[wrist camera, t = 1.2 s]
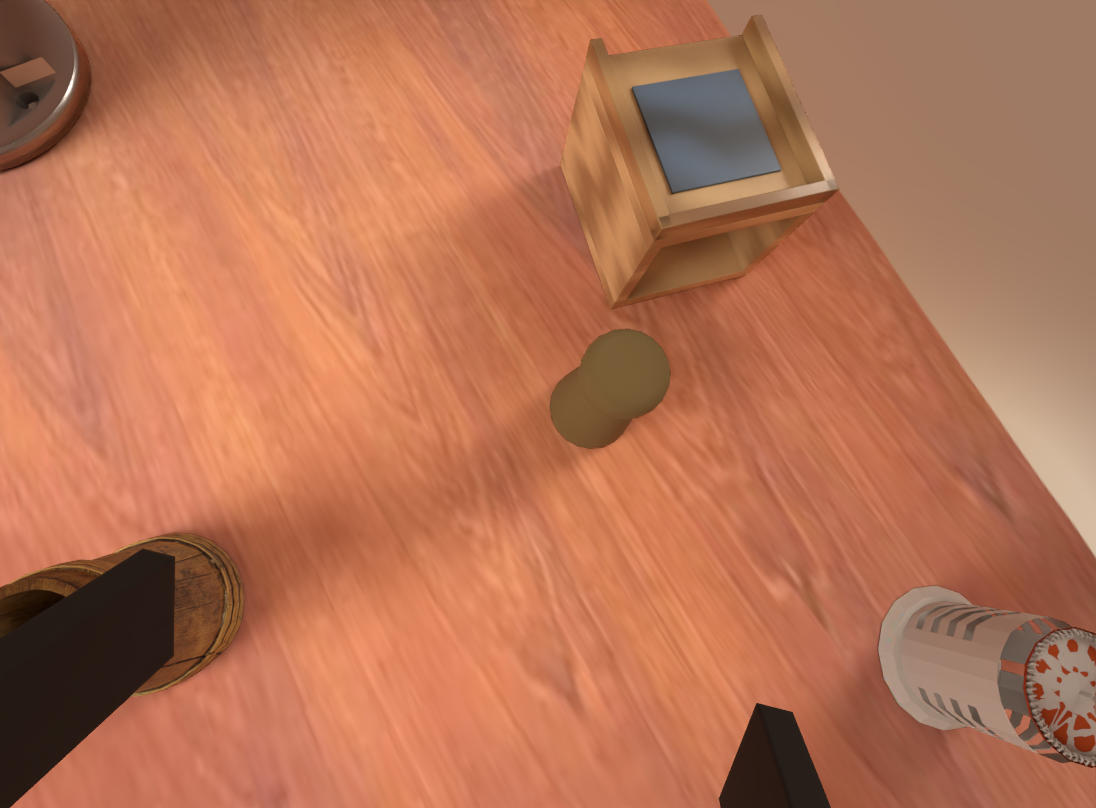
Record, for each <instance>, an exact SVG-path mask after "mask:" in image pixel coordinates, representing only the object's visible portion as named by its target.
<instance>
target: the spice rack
mask: <svg viewBox="0 0 1096 808" xmlns="http://www.w3.org/2000/svg"><path fill="white" fill-rule="evenodd" d="M560 166H561V168H562V171H563V174H564V177H565V180H566V183H567V186H568V189H569V191H570V194H571V197H572V200H573V203H574V206H575V209H576V211H577V214H578V217H579V220H580V223H581V226H582V229H583V232H584V234H585V237H586V240H587V243H588V246H589V249H590V252H591V255H592V257H593V260H594V263H595V266H596V269H597V272H598V275H599V277H600V280H601V283H602V286H603V289H604V292H605V295H606V298H607V300H608V303H609V306H610V309H613V308H617V307H621V306H625V305H629V304H633V303H637V302H641V301H644V300H648V299H652V298H656V297H660V296H664V295H668V294H672V293H676V292H680V291H684V290H688V289H692V288H696V287H700V286H704V285H708V284H712V283H716V282H720V281H724V280H728V279H732V278H736V277H740V276H744V275H746V274H747V273H749V272H750V271H751V270H752V269H753V268H754V267H755V266H756V265H757V264H758V263H759V262H760V261H762V260H763V259H764V258H765V257H766V256H767V255H768V254H769V253H770V252H771V251H772V250H774V249H775V248H776V247H777V246H778V245H779V244H780V243H781V242H782V241H783V240H784V239H786V238H787V237H788V236H789V235H790V234H791V233H792V232H793V231H794V230H795V229H796V228H797V227H799V226H800V225H801V224H802V223H803V222H804V221H805V220H806V219H807V218H808V217H809V216H811V215H812V214H813V212H815V211H816V210H817V209H818V208H819V207H820V206H821V205H822V204H823V203H824V202H826V201H827V200H828V199H829V198H830V197H831V196H832V195H833V194H834V193H836V192H837V191H838V190H839V187H838V184H837V182H836V180H835V178H834V176H833V173H832V171H831V169H830V166H829V164H828V162H827V160H826V157H825V155H824V153H823V151H822V148H821V146H820V144H819V142H818V139H817V137H816V135H815V133H814V131H813V128H812V126H811V124H810V121H809V119H808V117H807V115H806V112H805V110H804V108H803V106H802V103H801V101H800V99H799V97H798V94H797V92H796V90H795V88H794V85H793V83H792V81H791V79H790V77H789V74H788V72H787V70H786V68H785V65H784V63H783V61H782V59H781V56H780V54H779V52H778V50H777V47H776V45H775V43H774V41H773V38H772V36H771V34H770V32H769V29H768V27H767V25H766V23H765V20H764V18H763V16H762V15H755V16H752V17H751V19H750V20H749V22H748V24H747V26H746V28H745V29H744V31H743V33H742V35H738V36H731V37H725V38H718V39H712V40H705V41H699V42H692V43H686V44H679V45H673V46H666V47H660V48H653V49H647V50H641V51H634V52H628V53H621V54H615V55H608V52H607V50H606V47H605V44H604V42H603V39H602V38H598V39H591V40H590V43H589V47H588V52H587V56H586V60H585V65H584V69H583V73H582V76H581V81H580V85H579V89H578V93H577V97H576V101H575V105H574V109H573V113H572V117H571V122H570V126H569V130H568V134H567V138H566V142H565V146H564V150H563V155H562V158H561V162H560Z"/></svg>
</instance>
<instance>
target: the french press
mask: <svg viewBox="0 0 1096 808" xmlns="http://www.w3.org/2000/svg"><path fill="white" fill-rule="evenodd" d="M979 607H980V608H979ZM986 609H988V610H991V611H989V612H987V611H985V610H986ZM993 609H994V610H993ZM996 610H997V611H996ZM1003 612H1006V613H1008V614H1010V615H1003V614H1002V613H1003ZM1011 612H1013V613H1011ZM1015 613H1017V614H1015ZM990 614H996V615H997V616H994V617H993V616H992V615H990ZM1039 618H1044V619H1048V620H1049V621H1050V622H1052V623H1053V624H1054V625H1055V626H1057V627H1058V628H1059V629H1056V630H1053V631H1052V630H1051V628H1050V627H1049V626H1048V625H1046V624H1045V623H1044V622H1042V621H1041V620H1040V619H1039ZM1029 620H1032V621H1034V622H1035V623H1036V624H1038V625H1039V627H1040V629H1041V631H1042V633H1043V634H1039V633H1035V632H1034V630H1033V629H1032V627H1031V625H1030V624H1029V623H1028V622H1027V621H1029ZM1019 626H1022V628H1023V630H1024V631H1023V630H1017V629H1016V628H1018V627H1019ZM878 651H879V656H880V662H881V667H882V672H883V677H884V680H885V682H886V683H887V685H888V687H889V689H890V690H891V692H892V694H893V696H894V697H895V699H896V701H897V703H898V704H899V705H900V706H901V707H902V708H903V709H904V710H906V711H907V712H908V713H909V714H910V715H911V716H913V717H914V718H915V719H916V720H917V721H918V722H920V723H922V724H926V725H929V726H932V727H935V728H938V729H941V730H950V729H956V728H962V727H968V726H969V727H972V728H974V729H976V728H975V727H978V728H979V729H981V730H979V729H976V730H979V731H981V732H984V733H986V734H989V735H992V736H994V735H993V734H997V735H998V736H1000V737H1001V738H999V737H996V736H994V737H996V738H999V739H1001V740H1004V741H1006V742H1009V743H1011V744H1014V745H1016V746H1019V747H1022V748H1024V749H1027V750H1029V751H1032V752H1035V753H1037V752H1036V751H1034V750H1050V749H1051V748H1052V747H1053V748H1054V749H1055V750H1056V751H1058V752H1059V753H1053V754H1040V755H1042V756H1045V757H1048V758H1050V759H1053V760H1055V761H1058V762H1061V763H1066V762H1075V763H1078V764H1081V765H1084V766H1087V767H1090V768H1092V767H1096V634H1095V633H1092V632H1089V631H1086V630H1083V629H1080V628H1077V627H1072V626H1070V625H1069V624H1067V623H1066V622H1064V621H1060V620H1057V619H1054V618H1050V617H1046V616H1040V615H1035V614H1029V613H1019V612H1015V611H1009V610H1000V609H995V608H990V607H983V606H978V605H973V604H971V603H970V602H969V601H968V600H967V599H966V598H964V597H963V596H962V595H961V594H960V593H957V592H954V591H951V590H948V589H945V588H942V587H939V586H929V587H920V588H913V589H912V590H910V591H909V592H907V593H906V594H905V595H903V596H902V597H900V598H899V599H897V600H896V601H895V602H894V603H893V605H892V607H891V608H890V610H889V612H888V613H887V615H886V617H885V619H884V620H883V622H882V627H881V634H880V641H879V648H878ZM1001 659H1004V660H1009V661H1013V662H1017V663H1021V664H1025V670H1024V676H1022V675H1018V674H1015V673H1011V672H1007V671H1003V670H1001ZM1005 708H1006V709H1009V710H1012V715H1011V718H1010V721H1009V719H1008V717H1007V715H1006V713H1005ZM1023 715H1026V716H1029V717H1031V720H1030V724H1029V728H1028V729H1026V730H1025V731H1024V732H1023V733H1022V734H1020V735H1019V736H1018V735H1017V733H1016V731H1015V730H1014V729H1015V728H1016V727H1018V726H1019V725H1020V723H1021V720H1022V717H1023ZM984 727H988V728H989V729H990V730H986V729H985V728H984ZM1038 732H1040V734H1041V736H1042V737H1043V739H1044V740H1043V741H1042V742H1041V743H1040V744H1039V745H1027V744H1026V743H1025V742H1027V741H1030V740H1031V739H1032V738H1033V737H1034V736H1035V735H1036V734H1037V733H1038ZM1037 754H1039V753H1037Z"/></svg>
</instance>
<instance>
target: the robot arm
mask: <svg viewBox="0 0 1096 808" xmlns="http://www.w3.org/2000/svg"><path fill="white" fill-rule="evenodd" d="M90 84H91V73H90V65H89V61H88V58H87V55H86V52H85V50H84V48H83V46H82V44H81V43H80V41H79V40H78V38H77V37H76V35H75V34H74V33H73V32H72V30H71V29H70V28H69V27H68V25H67V24H66V23H65V22H64V20H63V19H62V18H61V17H60V15H59V14H58V13H57V12H56V11H55V10H54V9H53V8H52V7H51V6H50V5H49V4H48V3H47V2H46V1H44V0H0V171H1V170H5V169H8V168H11V167H14V166H17V165H20V164H22V163H24V162H26V161H29V160H31V159H33V158H35V157H36V156H38V155H40V154H42V153H43V152H45V151H46V150H48V149H49V148H51V147H52V146H53V145H55V144H56V143H57V142H58V141H60V140H61V139H62V138H63V137H64V136H65V135H66V134H67V133H68V132H69V130H70V129H71V128H72V127H73V126H74V124H75V123H76V121H77V120H78V118H79V117H80V115H81V113H82V111H83V110H84V107H85V105H86V102H87V99H88V96H89V92H90ZM174 607H175V556H171V555H167V554H163V553H160V552H156V551H152V550H148V549H144V548H143V549H141V550H140V551H138V552H137V553H135V554H133V555H132V556H130V557H129V558H127V559H125V560H124V561H122V562H121V563H119V564H118V565H116V566H114V567H113V568H111V569H110V570H108V571H106V572H105V573H103V574H102V575H100V576H98V577H97V578H95V579H94V580H92V581H91V582H89V583H87V584H86V585H84V586H83V587H81V588H79V589H78V590H76V591H75V592H73V593H72V594H70V595H68V596H67V597H65V598H64V599H62V600H60V601H59V602H57V603H56V604H54V605H52V606H51V607H49V608H48V609H46V610H45V611H43V612H41V613H40V614H38V615H37V616H35V617H33V618H32V619H30V620H29V621H27V622H26V623H24V624H22V625H21V626H19V627H18V628H16V629H14V630H13V631H11V632H10V633H8V634H7V635H5V636H3V637H2V638H0V808H10V807H11V806H12V805H13V804H14V803H15V802H16V801H18V800H19V799H20V798H21V797H22V796H23V795H24V794H25V793H26V792H27V791H28V790H29V789H31V788H32V787H33V786H34V785H35V784H36V783H37V782H38V781H39V780H40V779H41V778H42V777H44V776H45V775H46V774H47V773H48V772H49V771H50V770H51V769H52V768H53V767H54V766H55V765H57V764H58V763H59V762H60V761H61V760H62V759H63V758H64V757H65V756H66V755H67V754H68V753H70V752H71V751H72V750H73V749H74V748H75V747H76V746H77V745H78V744H79V743H80V742H81V741H83V740H84V739H85V738H86V737H87V736H88V735H89V734H90V733H91V732H92V731H93V730H94V729H96V728H97V727H98V726H99V725H100V724H101V723H102V722H103V721H104V720H105V719H106V718H107V717H109V716H110V715H111V714H112V713H113V712H114V711H115V710H116V709H117V708H118V707H119V706H120V705H122V704H123V703H124V702H125V701H126V700H127V699H128V698H129V697H130V696H131V695H132V694H133V693H134V692H136V691H137V690H138V689H139V688H140V687H141V686H142V685H143V684H144V683H145V682H146V681H147V680H149V679H150V678H151V677H152V676H153V675H154V674H155V673H156V672H157V671H158V670H159V669H160V668H162V667H163V666H164V665H165V664H166V663H167V662H168V661H169V660H170V659H171V658H172V657H173V656H174ZM719 801H720V806H721V808H831V807H830V804H829V802H828V799H827V797H826V794H825V792H824V789H823V787H822V784H821V782H820V779H819V777H818V774H817V772H816V769H815V767H814V764H813V762H812V759H811V757H810V754H809V752H808V750H807V747H806V745H805V742H804V740H803V737H802V735H801V732H800V730H799V727H798V725H797V722H796V720H795V717H794V715H793V712H790V711H786V710H782V709H778V708H774V707H770V706H766V705H762V704H758V703H756V706H755V708H754V711H753V714H752V716H751V719H750V721H749V724H748V726H747V729H746V731H745V734H744V736H743V739H742V741H741V744H740V747H739V749H738V752H737V754H736V757H735V759H734V762H733V764H732V767H731V769H730V772H729V774H728V777H727V779H726V782H725V785H724V787H723V790H722V792H721V795H720V797H719Z"/></svg>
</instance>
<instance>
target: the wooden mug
mask: <svg viewBox="0 0 1096 808" xmlns="http://www.w3.org/2000/svg"><path fill="white" fill-rule="evenodd" d="M143 548H144V549H148V550H152V551H156V552H160V553H163V554H167V555H171V556H175V607H174V656H173V657H172V658H171V659H170V660H169V661H168V662H167V663H166V664H165V665H164V666H163V667H162V668H160V669H159V670H158V671H157V672H156V673H155V674H154V675H153V676H152V677H151V678H150V679H149V680H147V681H146V682H145V683H144V684H143V685H142V686H141V687H140V688H139V689H138V690H137V691H136V692H134V693H133V694H132V695H131V696H143V695H147V694H150V693H154V692H158V691H162V690H166V689H168V688H170V687H172V686H174V685H176V684H178V683H180V682H182V681H184V680H186V679H187V678H189V677H191V676H193V675H194V674H196V673H198V672H199V671H201V670H202V669H203V668H204V667H205V666H207V665H208V664H209V663H210V662H211V661H213V660H214V659H215V658H216V657H217V656H218V655H219V654H221V653H222V652H223V651H224V650H225V649H226V648H227V647H228V646H229V645H230V644H231V642H232V640H233V638H234V636H235V634H236V632H237V630H238V628H239V626H240V624H241V621H242V614H243V607H244V592H243V583H242V580H241V577H240V574H239V571H238V568H237V566H236V565H235V563H234V562H233V561H232V559H231V558H230V556H229V555H228V554H227V552H225V551H224V550H223V549H222V548H220V547H219V546H218V545H216V544H215V543H214V542H213V541H211V540H208V539H205V538H203V537H200V536H197V535H194V534H186V533H170V534H166V535H162V536H157V537H153V538H149V539H146V540H142V541H138V542H136V543H133V544H131V545H128V546H126V547H123V548H121V549H119V550H117V551H116V552H114V553H112V554H110V555H106V556H103V557H100V558H97V559H93V560H76V561H71V562H66V563H61V564H58V565H54V566H51V567H47V568H44V569H41V570H38V571H35V572H32V573H29V574H26V575H24V576H22V577H20V578H18V579H17V580H15V581H13V582H11V583H9V584H7V585H4V586H2V587H0V638H2V637H3V636H5V635H7V634H8V633H10V632H11V631H13V630H14V629H16V628H18V627H19V626H21V625H22V624H24V623H26V622H27V621H29V620H30V619H32V618H33V617H35V616H37V615H38V614H40V613H41V612H43V611H45V610H46V609H48V608H49V607H51V606H52V605H54V604H56V603H57V602H59V601H60V600H62V599H64V598H65V597H67V596H68V595H70V594H72V593H73V592H75V591H76V590H78V589H79V588H81V587H83V586H84V585H86V584H87V583H89V582H91V581H92V580H94V579H95V578H97V577H98V576H100V575H102V574H103V573H105V572H106V571H108V570H110V569H111V568H113V567H114V566H116V565H118V564H119V563H121V562H122V561H124V560H125V559H127V558H129V557H130V556H132V555H133V554H135V553H137V552H138V551H140V550H141V549H143Z"/></svg>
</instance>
